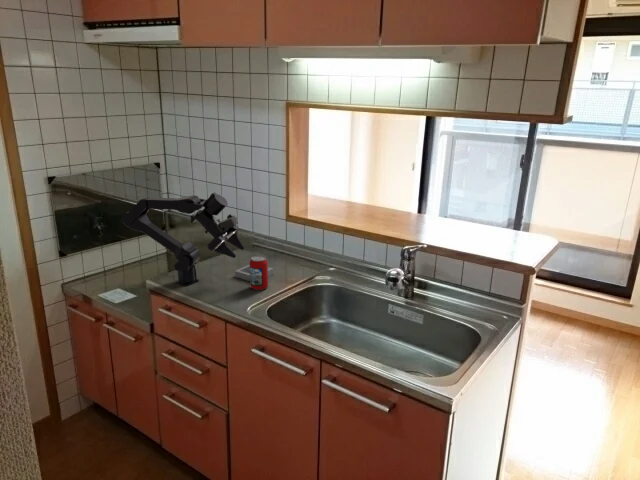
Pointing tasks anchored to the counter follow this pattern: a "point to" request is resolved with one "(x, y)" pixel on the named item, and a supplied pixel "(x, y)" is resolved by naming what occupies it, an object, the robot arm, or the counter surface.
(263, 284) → the beverage can
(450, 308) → the counter surface
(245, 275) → the holder
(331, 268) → the counter surface
